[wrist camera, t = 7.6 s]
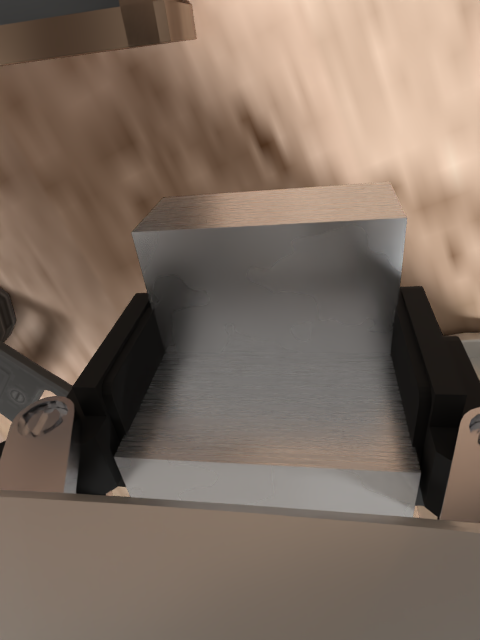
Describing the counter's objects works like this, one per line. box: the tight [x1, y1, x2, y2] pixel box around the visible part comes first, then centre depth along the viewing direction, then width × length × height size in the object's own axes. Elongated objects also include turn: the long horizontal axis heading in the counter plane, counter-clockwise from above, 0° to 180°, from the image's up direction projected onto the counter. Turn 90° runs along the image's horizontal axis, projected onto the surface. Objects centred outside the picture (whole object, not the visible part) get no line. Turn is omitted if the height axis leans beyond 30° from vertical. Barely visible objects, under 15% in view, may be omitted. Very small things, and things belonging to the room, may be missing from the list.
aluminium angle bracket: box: [114, 182, 421, 517], centre depth 10 cm, size 6×6×6 cm
